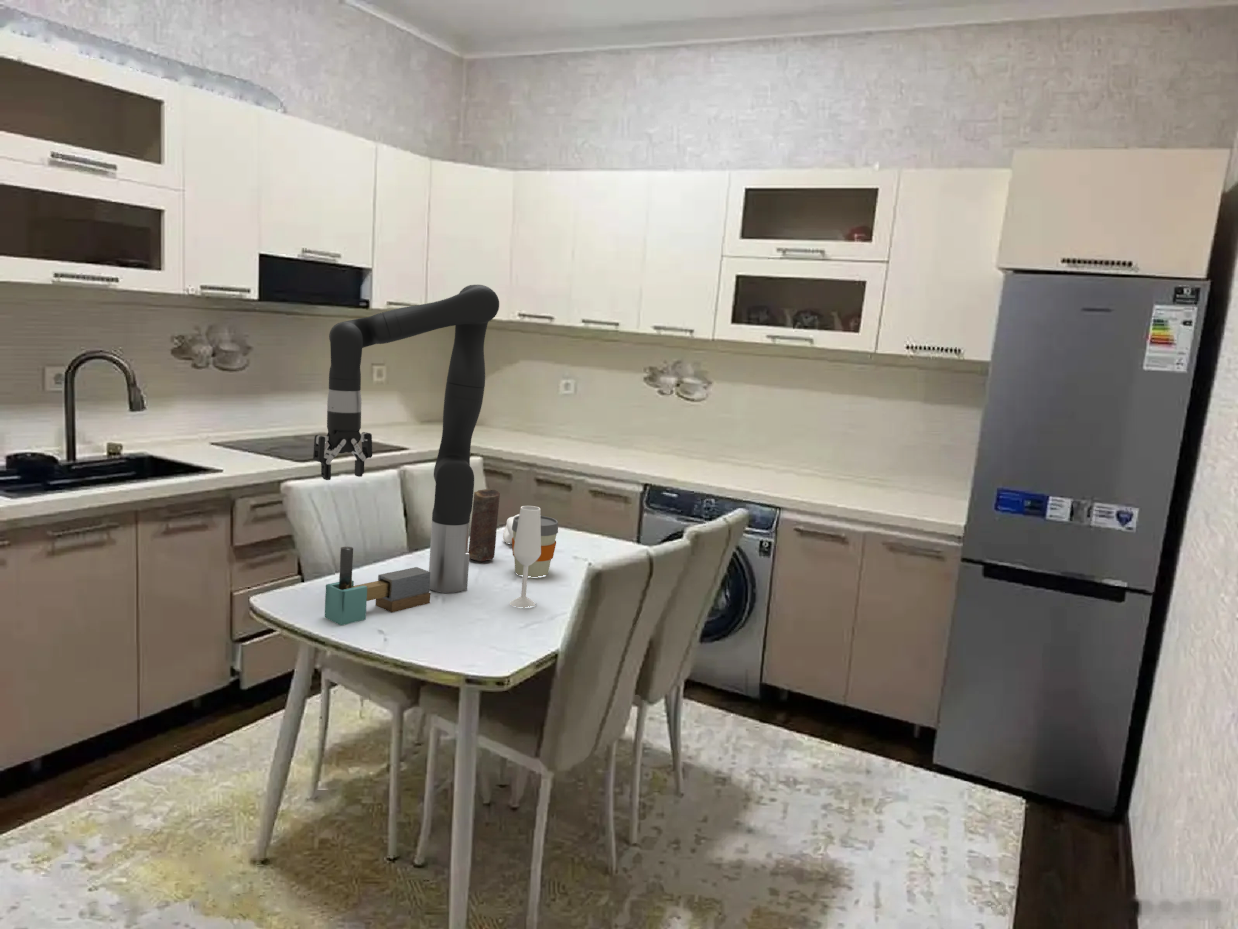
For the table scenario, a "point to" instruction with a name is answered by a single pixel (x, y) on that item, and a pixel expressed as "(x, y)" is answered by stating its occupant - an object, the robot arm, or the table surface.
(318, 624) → the table surface
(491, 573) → the table surface
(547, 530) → the reusable coffee cup
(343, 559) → the board with post
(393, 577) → the sleeve
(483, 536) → the candle
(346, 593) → the socket
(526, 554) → the champagne flute
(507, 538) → the white rounded piece
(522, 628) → the table surface
